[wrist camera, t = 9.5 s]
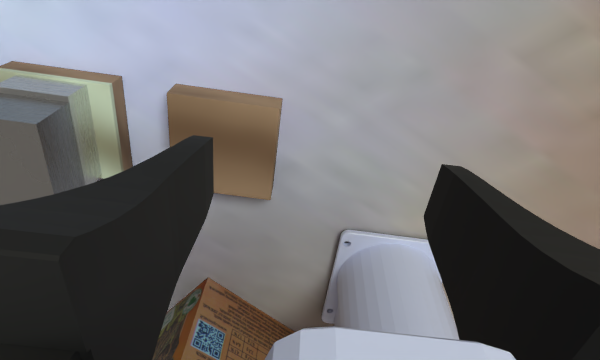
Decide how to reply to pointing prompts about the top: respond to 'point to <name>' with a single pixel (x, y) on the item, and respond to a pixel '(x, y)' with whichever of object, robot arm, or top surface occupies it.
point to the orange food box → (217, 328)
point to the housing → (45, 138)
